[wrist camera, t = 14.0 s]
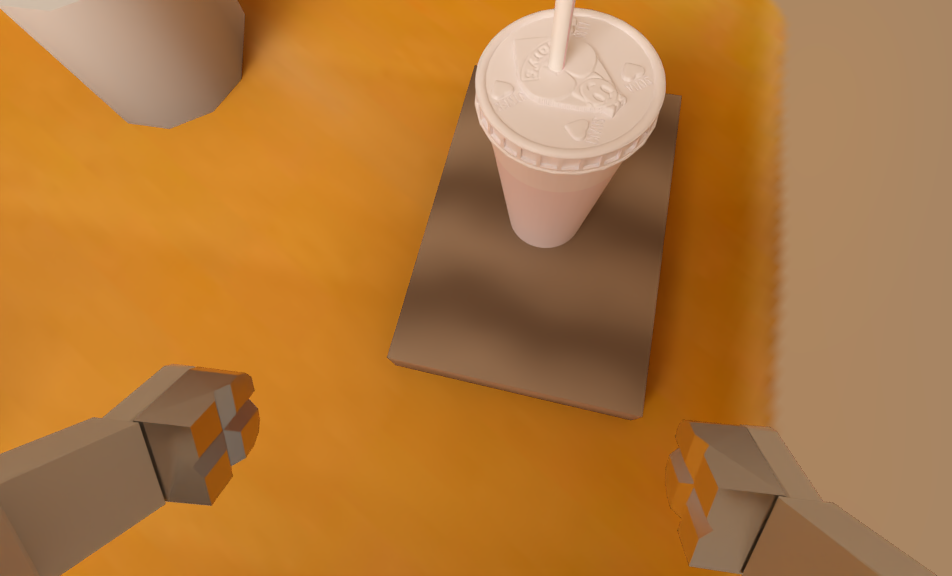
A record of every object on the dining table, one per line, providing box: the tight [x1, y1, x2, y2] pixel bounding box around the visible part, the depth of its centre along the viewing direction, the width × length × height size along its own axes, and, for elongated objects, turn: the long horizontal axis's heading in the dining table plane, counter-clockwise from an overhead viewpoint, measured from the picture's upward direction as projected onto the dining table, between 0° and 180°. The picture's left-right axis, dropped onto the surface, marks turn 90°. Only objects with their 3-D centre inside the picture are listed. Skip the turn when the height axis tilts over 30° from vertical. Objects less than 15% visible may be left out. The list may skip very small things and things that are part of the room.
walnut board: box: [387, 65, 682, 420], centre depth 26 cm, size 18×12×2 cm, turn 167°
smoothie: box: [475, 0, 666, 248], centre depth 18 cm, size 6×6×14 cm
